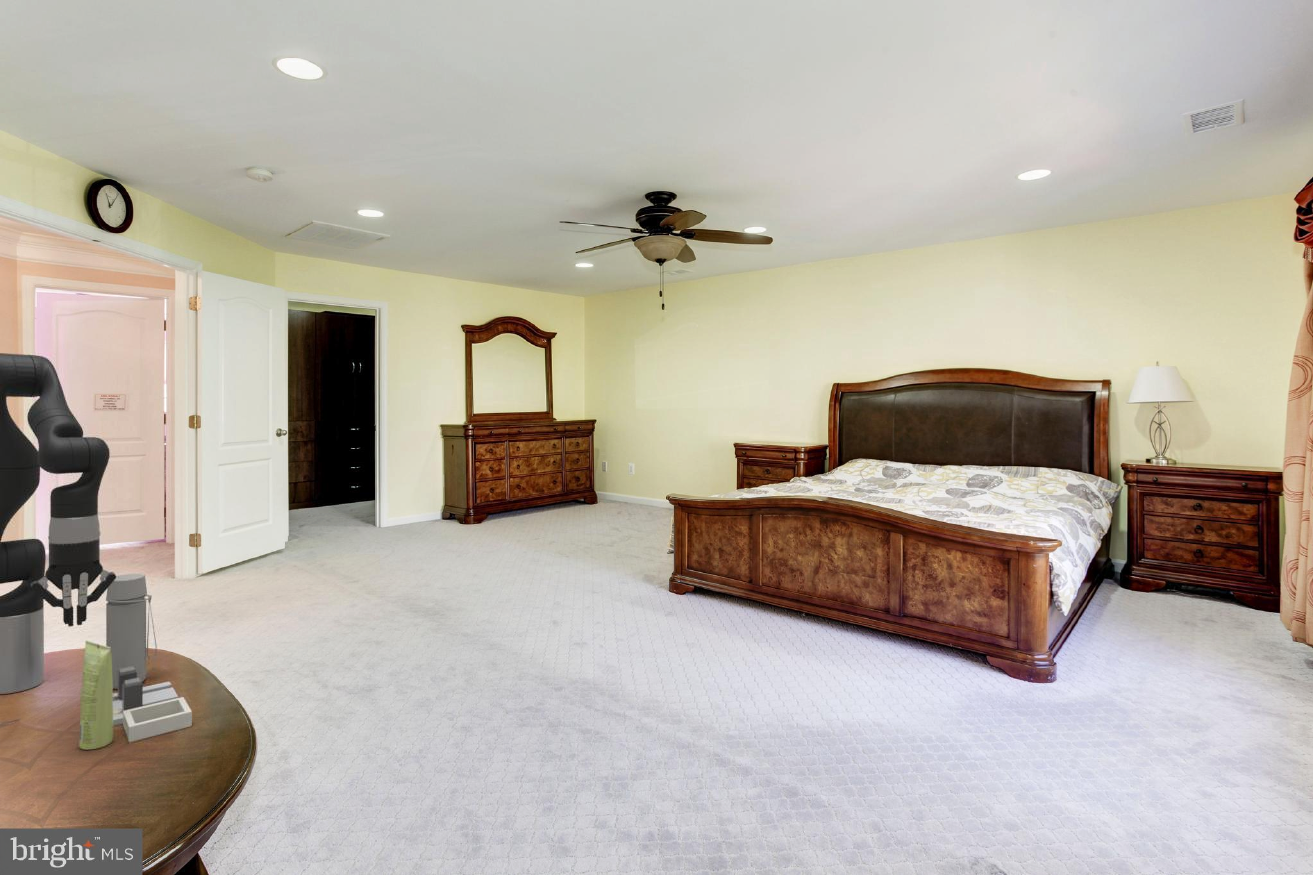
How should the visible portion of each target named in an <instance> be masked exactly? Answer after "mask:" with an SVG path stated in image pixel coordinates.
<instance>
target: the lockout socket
mask: <svg viewBox="0 0 1313 875" xmlns="http://www.w3.org/2000/svg"><path fill="white" fill-rule="evenodd" d="M192 713H193V711H192V709H191V707H190V706H189V704H188V702H187V701H186V699H185V698H184V697H183V696H181V697H179V698H176V699H172V700H168V701H164V702H159V703H155V704H151V705H146V706H142V707H138V708H134V709H129V710H125V711H123V724H122V728H123V729H124V732H125V735H126V738H127V741H128V743H133V742H137V741H139V740H144V739H147V738H152V737H156V736H159V735H163V734H167V733H171V732H174V731H178V730H181V729H186V728H190V727H192V726H193V725H192V724H193V720H192V719H193V714H192Z"/></svg>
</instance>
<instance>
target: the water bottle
mask: <svg viewBox="0 0 1313 875" xmlns="http://www.w3.org/2000/svg"><path fill="white" fill-rule="evenodd" d="M152 597H153V595H149V594H148V590H147V582H146V575H145V574H143V573H126V574H120V575H116V579H115V580H114V581H113V582H112V583H111V585H110V586H109V587H108V588H107V589H106V597H105V601H106V604H105V606H106V608H105V620H106V621H105V622H106V623H105V624H106V626H105V628H106V629H105V631H106V633H105V637H106V640H105V641H106V642H105V643H106V644H105V646H107V647H111V658H112V684H113V690H117V672H118V671H119V669H122V668H127V667H132V666H134V668H135V669H136V671H137V678H139V679H140V680H141V682H142V683H143V682H144V681H145V679H146V678H147V658H148V659H149V660H150V661H151V660H155V659H156V656H157V646H158V645H157V640H156V633H155V626H154V625H152V629H153V635H154V645H155V649H154V650H155V652H154V655H153V656H154V657H150V656H149V632H150V630H149V629H150V628H149V627H150V615H151V617H153V614H152V611H150V613H148V616H147V603H148V605H149V610H152V607H151V600H152ZM147 619H148V620H147ZM151 623H152V624H154V621H153V618H151Z"/></svg>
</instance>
